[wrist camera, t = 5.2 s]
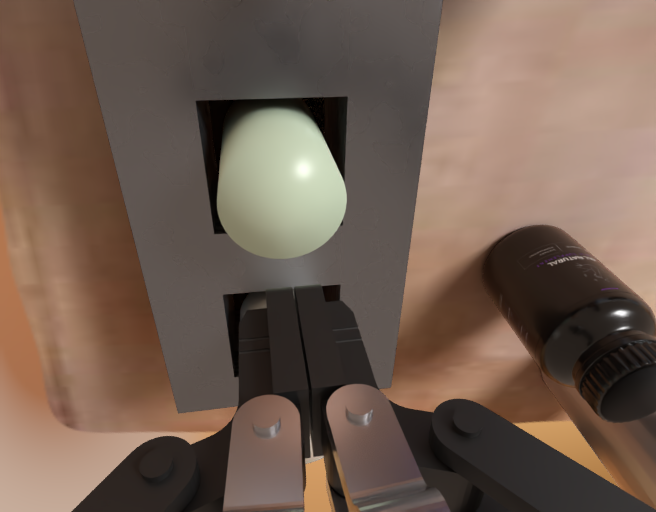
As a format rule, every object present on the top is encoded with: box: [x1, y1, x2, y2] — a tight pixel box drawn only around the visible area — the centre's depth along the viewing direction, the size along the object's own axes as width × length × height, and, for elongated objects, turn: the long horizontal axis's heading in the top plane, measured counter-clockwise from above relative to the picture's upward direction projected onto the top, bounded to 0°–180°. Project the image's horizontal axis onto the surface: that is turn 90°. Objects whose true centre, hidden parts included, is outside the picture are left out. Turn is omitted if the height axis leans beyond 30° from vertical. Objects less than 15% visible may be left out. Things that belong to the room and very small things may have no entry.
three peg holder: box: [73, 0, 443, 413], centre depth 22 cm, size 30×13×6 cm, turn 179°
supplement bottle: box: [482, 225, 656, 423], centre depth 28 cm, size 7×7×12 cm
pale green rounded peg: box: [217, 98, 347, 259], centre depth 20 cm, size 5×5×8 cm
